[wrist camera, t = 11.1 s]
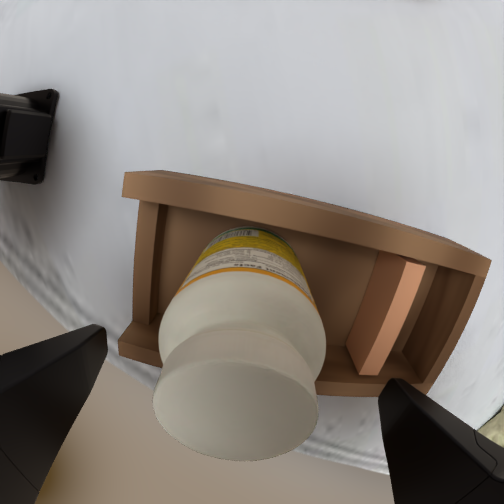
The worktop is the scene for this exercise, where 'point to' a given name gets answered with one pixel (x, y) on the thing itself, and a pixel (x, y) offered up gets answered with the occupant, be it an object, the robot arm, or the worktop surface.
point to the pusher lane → (314, 268)
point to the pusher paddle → (383, 310)
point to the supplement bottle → (241, 351)
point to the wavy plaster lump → (495, 429)
